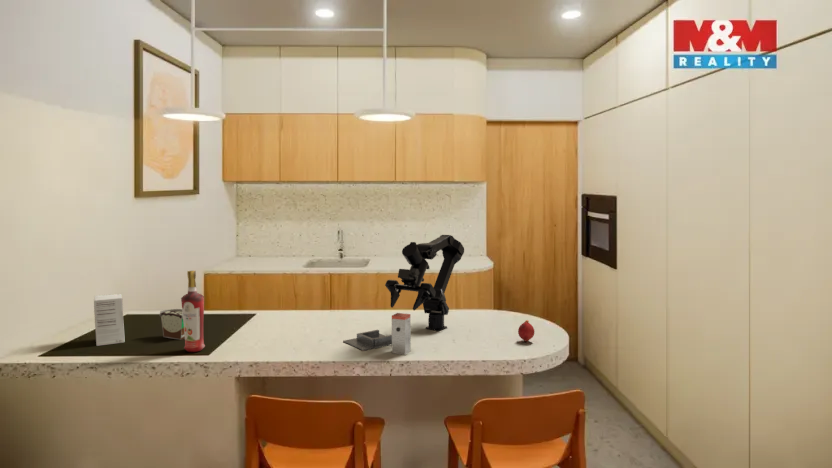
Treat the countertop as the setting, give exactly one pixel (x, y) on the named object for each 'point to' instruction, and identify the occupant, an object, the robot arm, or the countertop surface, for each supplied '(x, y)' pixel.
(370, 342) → the plate
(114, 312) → the supplement box
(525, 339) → the onion
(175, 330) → the food container
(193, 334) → the liquor
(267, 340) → the countertop surface
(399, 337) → the block
